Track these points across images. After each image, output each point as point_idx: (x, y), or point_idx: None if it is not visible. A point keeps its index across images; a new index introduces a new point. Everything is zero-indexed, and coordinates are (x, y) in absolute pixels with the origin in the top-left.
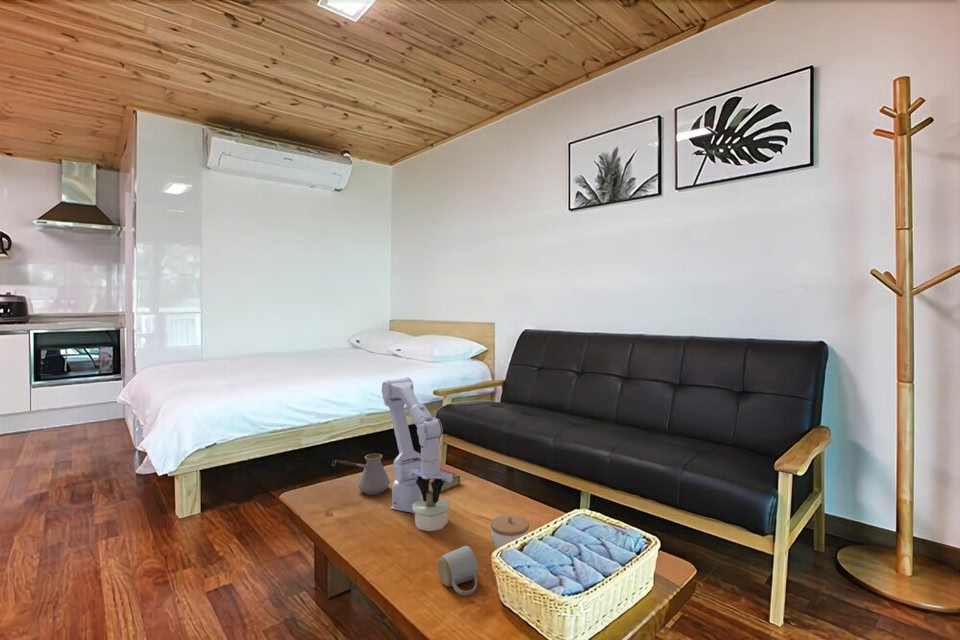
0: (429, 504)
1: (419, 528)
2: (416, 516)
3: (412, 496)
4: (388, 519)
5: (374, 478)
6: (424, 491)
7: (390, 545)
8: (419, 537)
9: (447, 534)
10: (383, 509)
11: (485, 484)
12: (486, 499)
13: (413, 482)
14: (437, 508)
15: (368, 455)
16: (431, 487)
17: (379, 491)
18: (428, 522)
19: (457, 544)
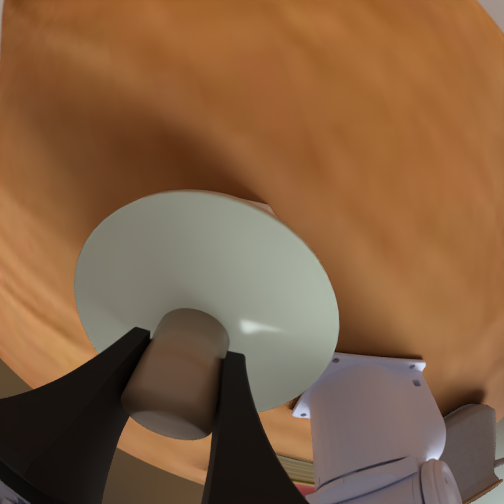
0: (183, 321)
1: (262, 204)
2: None
3: (351, 417)
4: (434, 284)
5: (473, 445)
6: (218, 426)
7: (364, 31)
8: (234, 115)
9: (105, 178)
10: (447, 350)
11: (156, 465)
12: None
13: (354, 483)
14: (122, 288)
15: (487, 491)
16: (292, 467)
17: (448, 420)
18: None
19: (55, 110)
